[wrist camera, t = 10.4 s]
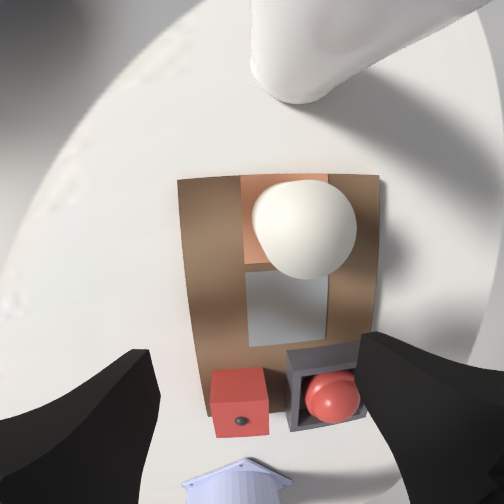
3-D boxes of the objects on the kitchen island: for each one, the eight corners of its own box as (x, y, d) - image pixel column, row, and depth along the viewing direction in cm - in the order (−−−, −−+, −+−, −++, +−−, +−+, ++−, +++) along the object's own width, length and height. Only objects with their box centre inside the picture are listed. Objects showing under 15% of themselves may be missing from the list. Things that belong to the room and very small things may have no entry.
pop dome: (348, 398, 18) (364, 427, 15) (300, 407, 18) (310, 439, 15) (355, 358, 18) (376, 387, 14) (303, 367, 17) (316, 400, 14)
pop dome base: (355, 398, 20) (365, 417, 17) (284, 410, 19) (290, 432, 17) (365, 338, 18) (380, 356, 16) (286, 350, 18) (293, 371, 16)
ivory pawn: (277, 266, 16) (296, 297, 12) (237, 209, 16) (239, 218, 11) (333, 226, 16) (372, 242, 11) (295, 168, 15) (323, 160, 10)
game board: (354, 392, 20) (358, 399, 19) (208, 409, 20) (207, 417, 19) (373, 175, 17) (379, 175, 16) (179, 180, 16) (176, 180, 15)
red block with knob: (263, 402, 19) (269, 438, 15) (217, 405, 19) (216, 441, 15) (262, 367, 18) (269, 403, 14) (212, 370, 18) (209, 406, 14)
